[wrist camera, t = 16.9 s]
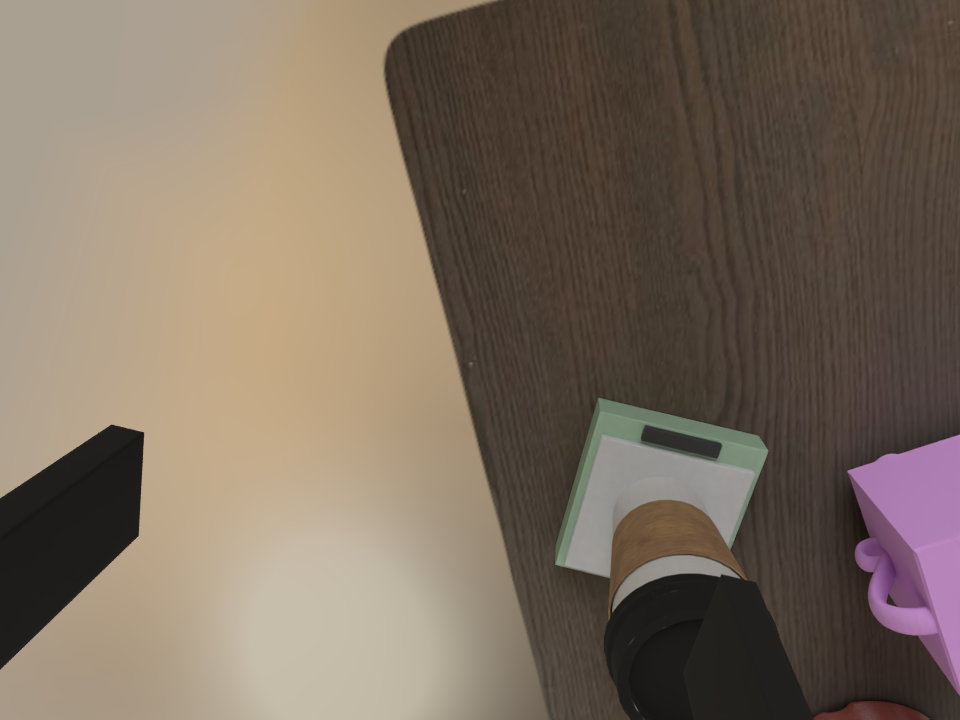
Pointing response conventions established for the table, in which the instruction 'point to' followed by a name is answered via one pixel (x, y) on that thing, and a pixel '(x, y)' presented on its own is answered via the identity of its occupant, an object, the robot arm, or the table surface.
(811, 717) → the robot arm
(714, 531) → the coffee cup
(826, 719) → the flower pot
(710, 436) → the kitchen scale
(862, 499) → the teapot
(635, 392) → the table surface
